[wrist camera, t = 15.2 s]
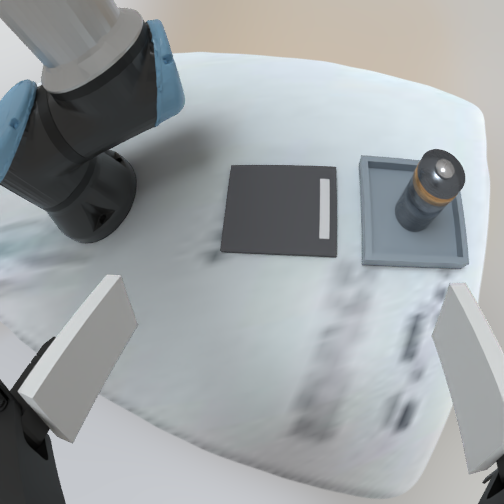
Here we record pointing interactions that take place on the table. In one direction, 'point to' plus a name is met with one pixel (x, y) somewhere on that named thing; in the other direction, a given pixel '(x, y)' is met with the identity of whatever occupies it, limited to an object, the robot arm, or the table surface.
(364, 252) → the tray
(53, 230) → the table surface
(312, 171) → the dark grey pad
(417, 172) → the battery cell
